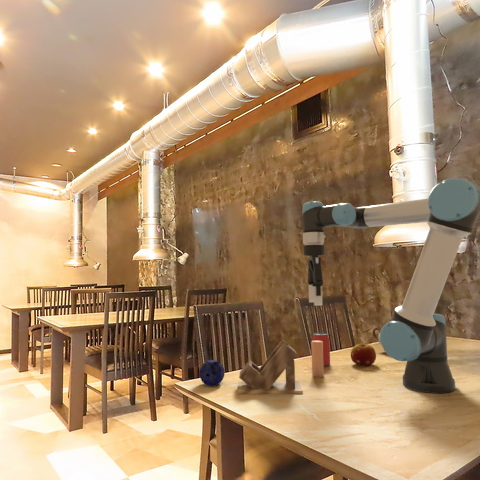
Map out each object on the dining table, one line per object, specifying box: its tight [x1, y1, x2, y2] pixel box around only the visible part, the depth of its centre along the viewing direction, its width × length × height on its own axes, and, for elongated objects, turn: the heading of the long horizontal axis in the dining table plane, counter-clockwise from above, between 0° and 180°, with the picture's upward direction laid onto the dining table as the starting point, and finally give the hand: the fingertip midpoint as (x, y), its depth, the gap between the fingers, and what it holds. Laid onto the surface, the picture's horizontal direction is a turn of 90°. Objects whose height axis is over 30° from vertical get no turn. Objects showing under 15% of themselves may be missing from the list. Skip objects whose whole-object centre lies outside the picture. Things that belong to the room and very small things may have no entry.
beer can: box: [312, 332, 331, 367], centre depth 160 cm, size 7×7×12 cm
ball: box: [199, 359, 225, 387], centre depth 135 cm, size 8×8×8 cm
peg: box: [310, 340, 325, 379], centre depth 143 cm, size 4×4×12 cm
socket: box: [236, 339, 304, 395], centre depth 129 cm, size 20×11×16 cm, turn 88°
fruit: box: [350, 343, 377, 367], centre depth 158 cm, size 10×9×8 cm
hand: (315, 303), depth 144 cm, fingers open, 13 cm apart
